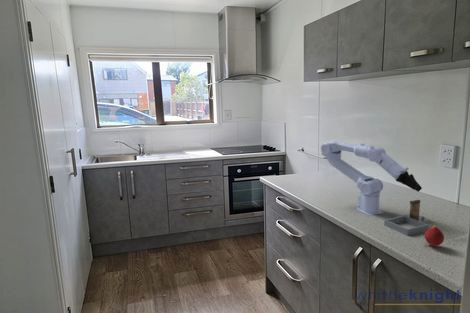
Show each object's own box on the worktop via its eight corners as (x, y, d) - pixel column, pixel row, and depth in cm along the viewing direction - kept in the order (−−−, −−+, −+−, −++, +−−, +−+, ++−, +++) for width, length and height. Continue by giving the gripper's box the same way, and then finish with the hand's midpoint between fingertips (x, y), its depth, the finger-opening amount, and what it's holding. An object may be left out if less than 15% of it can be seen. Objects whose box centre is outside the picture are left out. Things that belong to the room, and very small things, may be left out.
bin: (384, 226, 129) (384, 219, 128) (404, 222, 133) (404, 215, 132) (407, 237, 118) (407, 229, 118) (428, 231, 122) (428, 224, 122)
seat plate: (397, 217, 138) (397, 214, 137) (412, 214, 141) (412, 211, 140) (415, 224, 129) (415, 221, 129) (430, 221, 132) (431, 217, 132)
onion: (435, 242, 113) (437, 222, 112) (446, 249, 107) (448, 228, 106) (420, 243, 113) (421, 222, 112) (430, 250, 107) (432, 229, 106)
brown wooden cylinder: (406, 217, 136) (407, 200, 134) (414, 216, 137) (415, 198, 136) (413, 220, 132) (414, 202, 131) (421, 218, 134) (423, 201, 133)
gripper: (394, 157, 127) (422, 179, 119) (403, 163, 138) (429, 184, 130) (381, 169, 130) (408, 192, 122) (391, 174, 140) (416, 195, 132)
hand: (418, 189), depth 126 cm, fingers open, 7 cm apart
